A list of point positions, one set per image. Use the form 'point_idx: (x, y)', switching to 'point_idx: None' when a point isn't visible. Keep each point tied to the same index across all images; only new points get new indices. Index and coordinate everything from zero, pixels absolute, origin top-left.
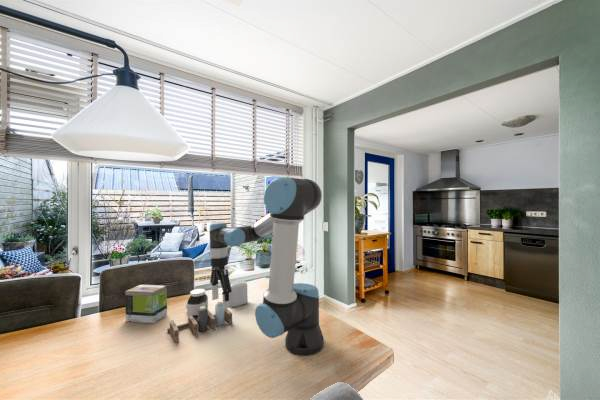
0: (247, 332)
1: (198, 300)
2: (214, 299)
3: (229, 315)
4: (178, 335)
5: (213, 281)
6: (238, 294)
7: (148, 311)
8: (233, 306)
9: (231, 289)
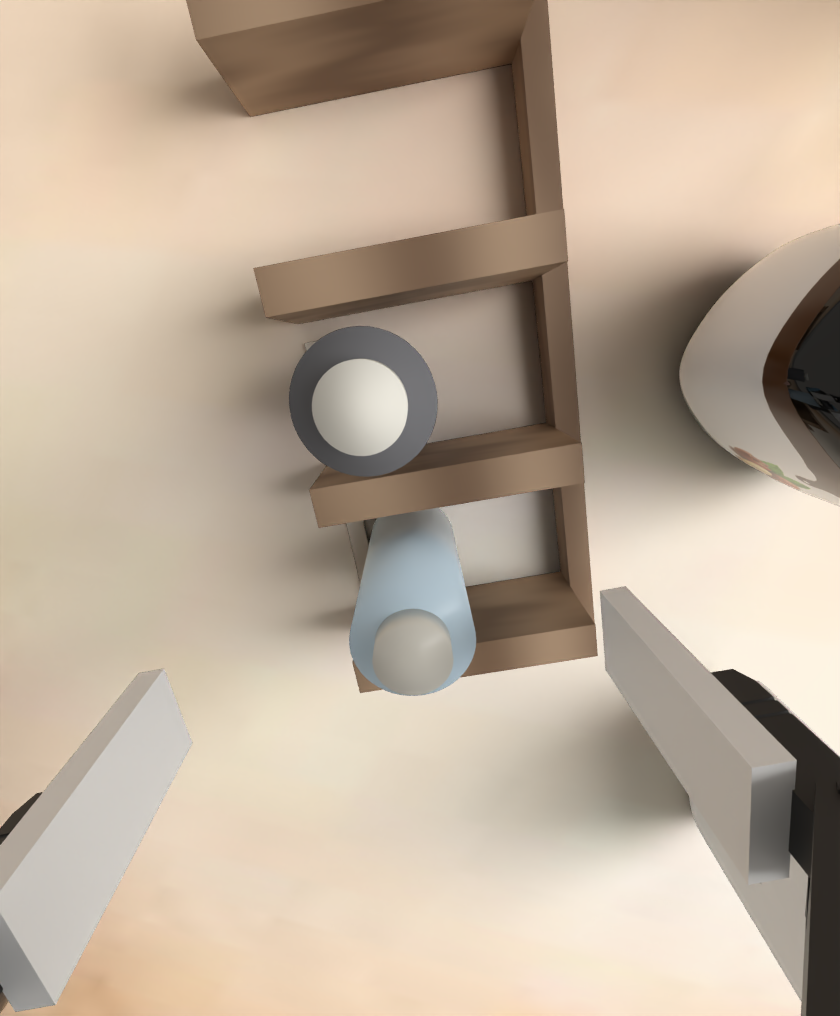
0: (179, 698)
1: (821, 383)
2: (603, 615)
3: None
4: (223, 78)
5: (807, 955)
6: None
7: None
8: None
9: None
